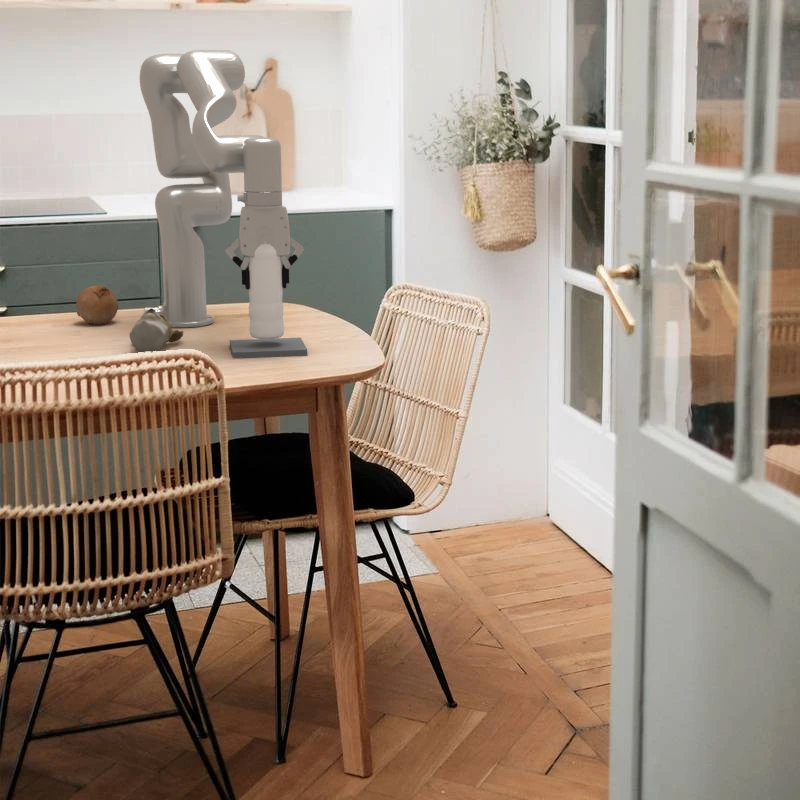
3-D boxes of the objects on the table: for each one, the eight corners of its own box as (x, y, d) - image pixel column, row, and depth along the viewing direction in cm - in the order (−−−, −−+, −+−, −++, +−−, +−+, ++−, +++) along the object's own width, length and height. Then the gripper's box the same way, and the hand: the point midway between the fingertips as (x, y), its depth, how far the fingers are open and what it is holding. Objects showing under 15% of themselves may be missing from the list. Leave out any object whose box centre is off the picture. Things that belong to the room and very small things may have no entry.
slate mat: (233, 358, 258) (232, 352, 258) (229, 345, 271) (229, 340, 270) (307, 355, 261) (307, 349, 261) (300, 343, 273) (300, 337, 273)
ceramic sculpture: (117, 312, 260) (136, 304, 275) (118, 354, 262) (137, 344, 277) (169, 313, 260) (185, 305, 275) (170, 355, 261) (186, 345, 276)
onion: (111, 337, 296) (121, 301, 291) (70, 328, 293) (79, 291, 288) (114, 316, 303) (123, 280, 298) (73, 307, 301) (82, 271, 296)
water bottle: (278, 340, 261) (275, 216, 255) (245, 339, 263) (241, 216, 256) (288, 333, 268) (285, 213, 262) (255, 332, 269) (252, 212, 263)
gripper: (220, 202, 253) (223, 292, 258) (308, 201, 256) (310, 289, 261) (219, 199, 261) (222, 286, 265) (304, 197, 264) (306, 283, 268)
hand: (265, 287), depth 263 cm, fingers closed on water bottle, 6 cm apart
